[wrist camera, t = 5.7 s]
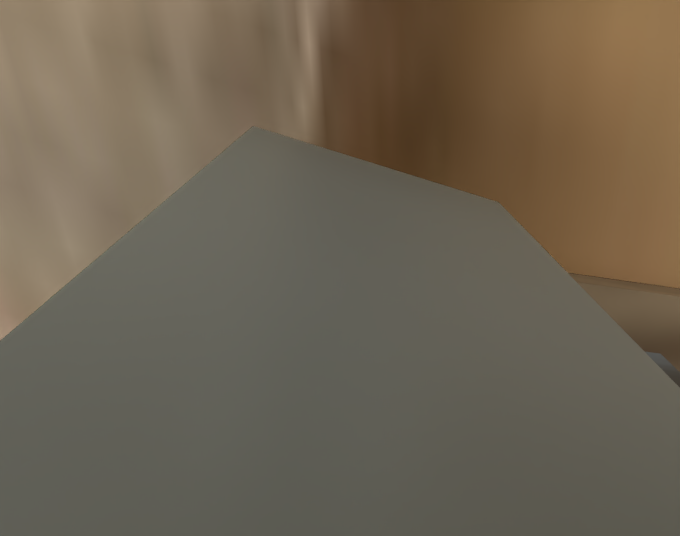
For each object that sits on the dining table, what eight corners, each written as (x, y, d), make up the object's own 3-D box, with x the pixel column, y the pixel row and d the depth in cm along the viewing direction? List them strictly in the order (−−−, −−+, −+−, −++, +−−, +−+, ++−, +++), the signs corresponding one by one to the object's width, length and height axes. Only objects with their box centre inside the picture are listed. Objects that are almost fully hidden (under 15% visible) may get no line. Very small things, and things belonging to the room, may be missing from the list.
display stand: (439, 254, 34) (460, 301, 28) (716, 293, 35) (797, 347, 29) (383, 499, 41) (390, 579, 35) (613, 526, 42) (660, 610, 36)
